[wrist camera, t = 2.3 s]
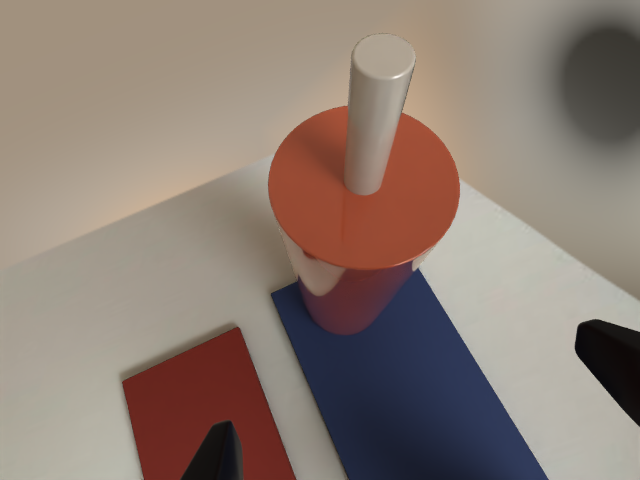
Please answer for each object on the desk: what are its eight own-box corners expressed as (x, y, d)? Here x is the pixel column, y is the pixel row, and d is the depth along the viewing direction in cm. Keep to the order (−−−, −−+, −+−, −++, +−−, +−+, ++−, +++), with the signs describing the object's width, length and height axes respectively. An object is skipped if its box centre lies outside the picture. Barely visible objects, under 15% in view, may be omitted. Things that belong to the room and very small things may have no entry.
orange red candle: (397, 313, 20) (619, 107, 5) (324, 349, 19) (307, 248, 4) (359, 245, 22) (432, -69, 6) (291, 276, 21) (189, 9, 6)
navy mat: (619, 601, 15) (628, 608, 15) (451, 720, 14) (455, 732, 14) (396, 237, 22) (397, 234, 22) (271, 295, 21) (270, 293, 21)
